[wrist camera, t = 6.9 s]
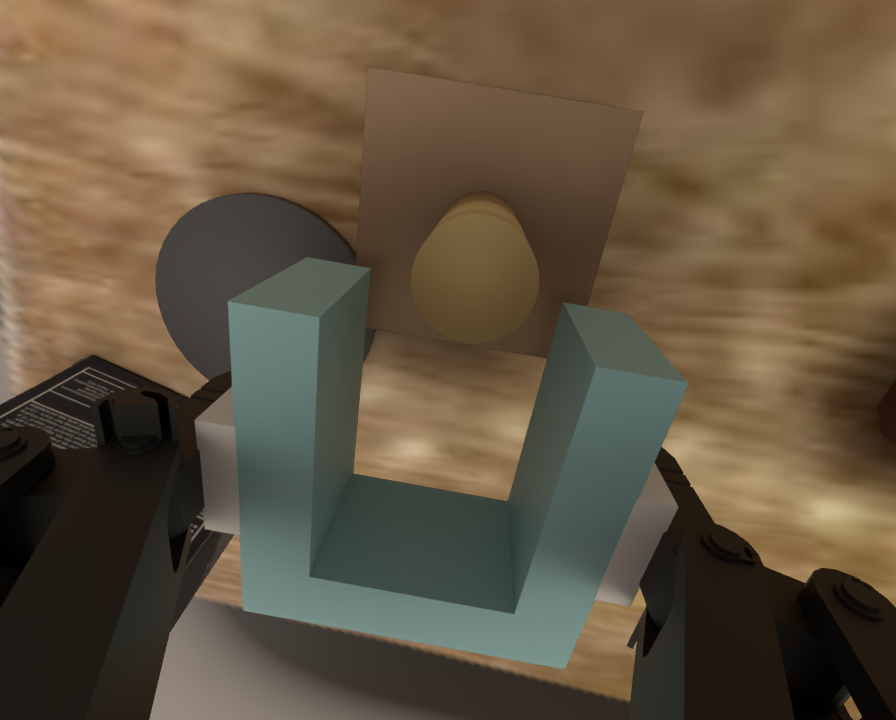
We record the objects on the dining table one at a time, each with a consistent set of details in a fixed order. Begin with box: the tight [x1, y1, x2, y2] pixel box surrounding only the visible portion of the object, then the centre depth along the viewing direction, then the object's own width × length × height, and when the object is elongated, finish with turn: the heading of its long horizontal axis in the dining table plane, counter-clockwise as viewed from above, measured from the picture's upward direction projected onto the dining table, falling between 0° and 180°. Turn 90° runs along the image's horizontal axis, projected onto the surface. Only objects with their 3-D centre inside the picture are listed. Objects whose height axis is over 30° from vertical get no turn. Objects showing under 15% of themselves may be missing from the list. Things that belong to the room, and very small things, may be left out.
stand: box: [356, 67, 643, 358], centre depth 13 cm, size 8×8×12 cm
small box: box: [0, 356, 234, 632], centre depth 20 cm, size 11×6×10 cm, turn 63°
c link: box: [228, 257, 689, 669], centre depth 10 cm, size 8×8×4 cm
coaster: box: [156, 193, 375, 380], centre depth 21 cm, size 10×10×1 cm
